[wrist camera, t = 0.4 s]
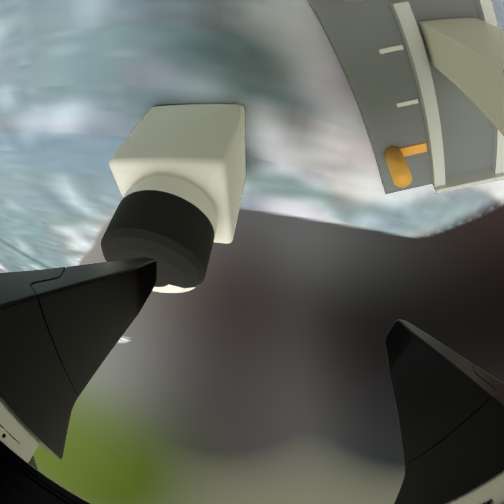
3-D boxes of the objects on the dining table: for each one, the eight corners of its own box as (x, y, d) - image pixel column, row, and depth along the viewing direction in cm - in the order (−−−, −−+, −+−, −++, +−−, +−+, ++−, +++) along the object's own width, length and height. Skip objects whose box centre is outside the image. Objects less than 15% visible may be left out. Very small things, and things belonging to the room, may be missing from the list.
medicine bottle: (151, 105, 18) (64, 228, 11) (245, 102, 18) (201, 241, 11) (167, 174, 24) (117, 294, 17) (246, 177, 24) (219, 311, 17)
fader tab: (415, 19, 9) (514, 77, 4) (477, 15, 7) (586, 80, 2) (429, 67, 12) (513, 158, 6) (486, 61, 9) (579, 147, 4)
